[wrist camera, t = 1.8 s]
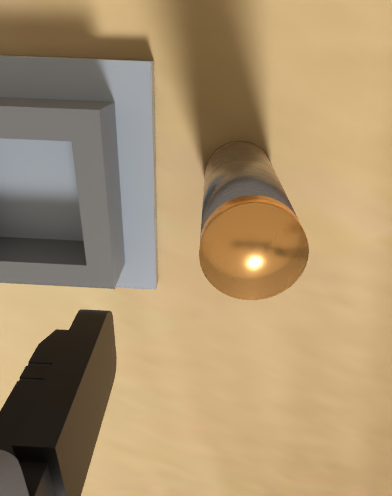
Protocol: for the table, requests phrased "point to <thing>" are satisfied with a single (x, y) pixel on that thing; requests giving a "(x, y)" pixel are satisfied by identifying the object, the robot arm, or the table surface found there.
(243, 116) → the table surface
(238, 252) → the cylinder
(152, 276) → the socket
